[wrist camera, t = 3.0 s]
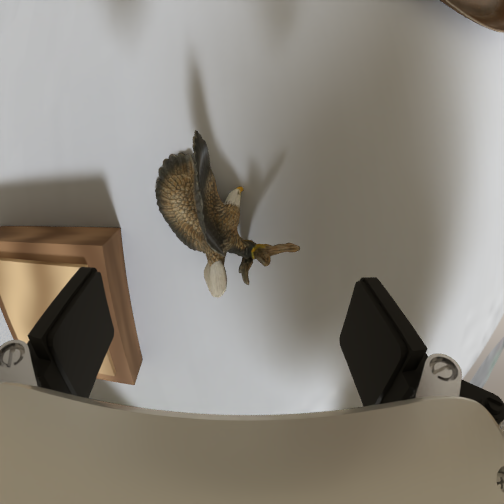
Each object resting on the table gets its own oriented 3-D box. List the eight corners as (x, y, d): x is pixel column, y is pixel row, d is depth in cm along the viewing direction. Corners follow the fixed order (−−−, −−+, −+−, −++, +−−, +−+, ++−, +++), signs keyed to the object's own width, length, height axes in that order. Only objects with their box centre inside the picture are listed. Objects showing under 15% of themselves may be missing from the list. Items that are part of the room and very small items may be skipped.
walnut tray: (120, 227, 21) (99, 248, 17) (142, 359, 27) (133, 388, 23) (1, 226, 20) (-24, 242, 16) (36, 340, 26) (21, 362, 22)
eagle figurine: (310, 203, 20) (217, 105, 15) (291, 294, 16) (157, 183, 11) (236, 234, 25) (154, 163, 20) (207, 309, 21) (103, 236, 16)
